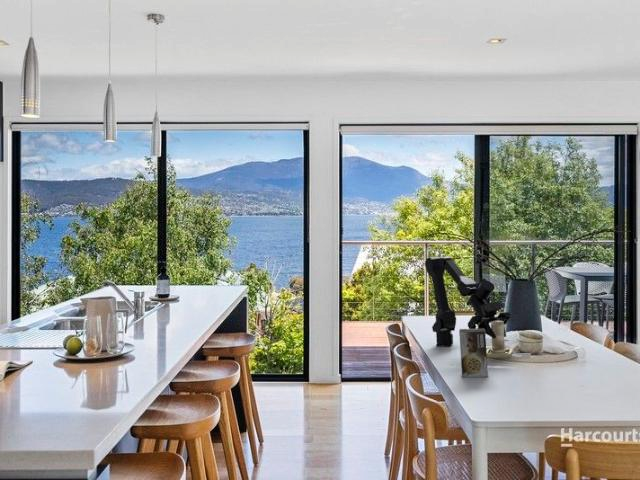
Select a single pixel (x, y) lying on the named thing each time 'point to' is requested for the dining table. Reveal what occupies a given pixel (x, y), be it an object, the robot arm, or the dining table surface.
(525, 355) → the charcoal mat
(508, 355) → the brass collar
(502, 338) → the disc
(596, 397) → the dining table surface
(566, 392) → the dining table surface
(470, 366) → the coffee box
